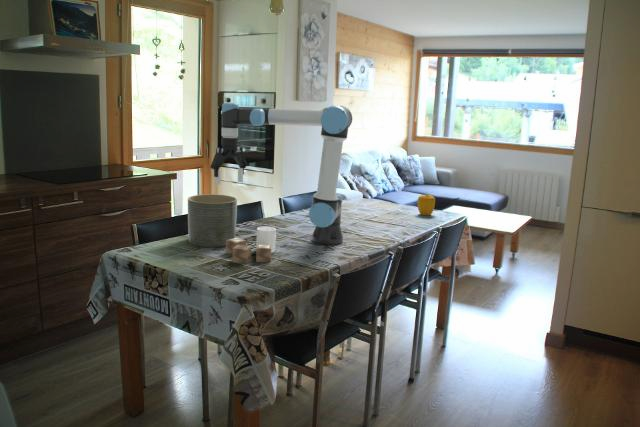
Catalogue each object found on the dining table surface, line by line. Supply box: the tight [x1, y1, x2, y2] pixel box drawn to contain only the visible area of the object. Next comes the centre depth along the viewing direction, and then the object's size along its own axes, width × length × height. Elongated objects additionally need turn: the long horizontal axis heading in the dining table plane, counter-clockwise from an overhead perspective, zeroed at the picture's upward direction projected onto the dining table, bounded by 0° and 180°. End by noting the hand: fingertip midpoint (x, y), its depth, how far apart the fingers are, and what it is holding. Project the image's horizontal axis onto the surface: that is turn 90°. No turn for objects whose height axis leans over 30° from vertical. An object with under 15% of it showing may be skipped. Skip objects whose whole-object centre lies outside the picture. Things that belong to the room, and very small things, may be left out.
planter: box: [187, 193, 238, 248], centre depth 252 cm, size 22×22×20 cm
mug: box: [255, 225, 277, 254], centre depth 243 cm, size 12×8×10 cm
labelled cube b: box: [255, 244, 272, 263], centre depth 229 cm, size 6×6×6 cm
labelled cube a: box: [225, 237, 247, 256], centre depth 237 cm, size 6×6×6 cm
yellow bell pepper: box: [417, 194, 436, 217], centre depth 338 cm, size 11×11×13 cm
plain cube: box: [232, 245, 252, 265], centre depth 226 cm, size 6×6×6 cm
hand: (229, 182), depth 256 cm, fingers open, 13 cm apart
